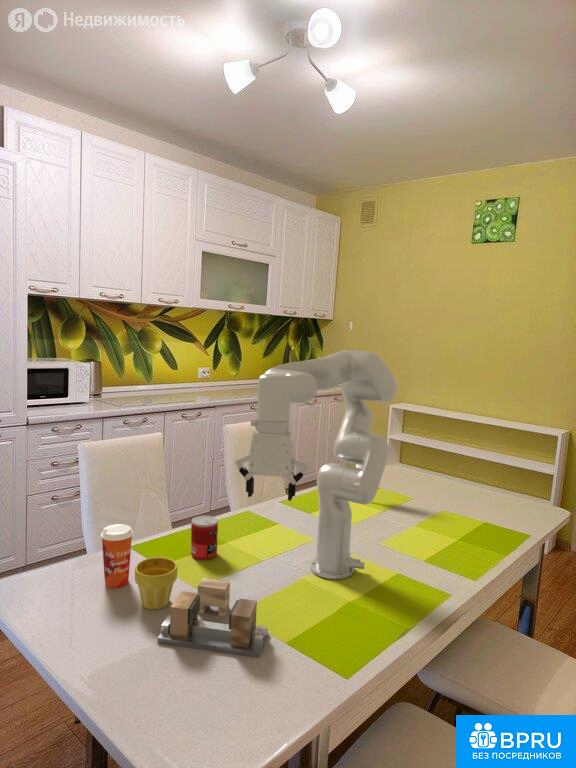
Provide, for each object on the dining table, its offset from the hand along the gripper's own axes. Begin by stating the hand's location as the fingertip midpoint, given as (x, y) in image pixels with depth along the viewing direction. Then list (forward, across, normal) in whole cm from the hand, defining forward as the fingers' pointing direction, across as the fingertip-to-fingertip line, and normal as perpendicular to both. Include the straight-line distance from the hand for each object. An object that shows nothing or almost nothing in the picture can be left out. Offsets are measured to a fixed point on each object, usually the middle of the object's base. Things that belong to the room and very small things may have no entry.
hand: (270, 496), depth 127 cm
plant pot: (+30, -28, -1) cm, 41 cm away
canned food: (+30, -25, +28) cm, 48 cm away
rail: (+30, -10, -12) cm, 34 cm away
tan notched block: (+30, -13, -1) cm, 33 cm away
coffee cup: (+30, -42, +6) cm, 52 cm away
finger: (+29, -3, -12) cm, 31 cm away
